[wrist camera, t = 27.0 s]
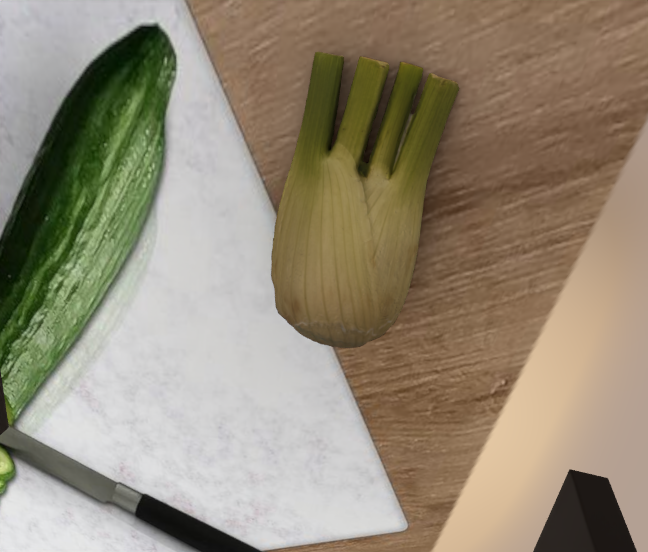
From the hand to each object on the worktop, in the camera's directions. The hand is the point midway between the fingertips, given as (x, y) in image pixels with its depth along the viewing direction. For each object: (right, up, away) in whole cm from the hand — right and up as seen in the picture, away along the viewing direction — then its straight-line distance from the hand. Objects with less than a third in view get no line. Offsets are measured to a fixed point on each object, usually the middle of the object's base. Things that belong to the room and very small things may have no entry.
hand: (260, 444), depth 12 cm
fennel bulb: (+1, +1, +12) cm, 12 cm away
